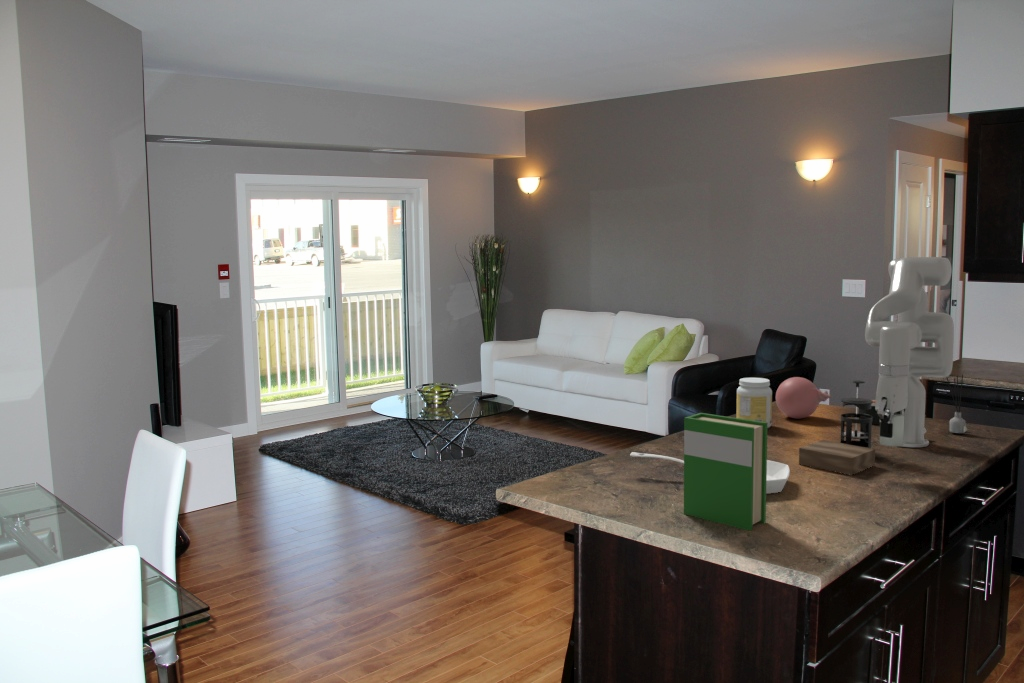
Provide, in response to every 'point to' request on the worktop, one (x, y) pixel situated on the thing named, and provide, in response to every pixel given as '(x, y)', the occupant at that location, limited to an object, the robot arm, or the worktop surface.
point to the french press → (857, 421)
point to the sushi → (871, 413)
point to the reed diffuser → (957, 414)
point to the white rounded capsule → (895, 431)
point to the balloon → (799, 397)
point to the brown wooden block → (837, 457)
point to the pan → (774, 479)
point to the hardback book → (725, 469)
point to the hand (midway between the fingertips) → (891, 434)
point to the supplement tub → (754, 400)
